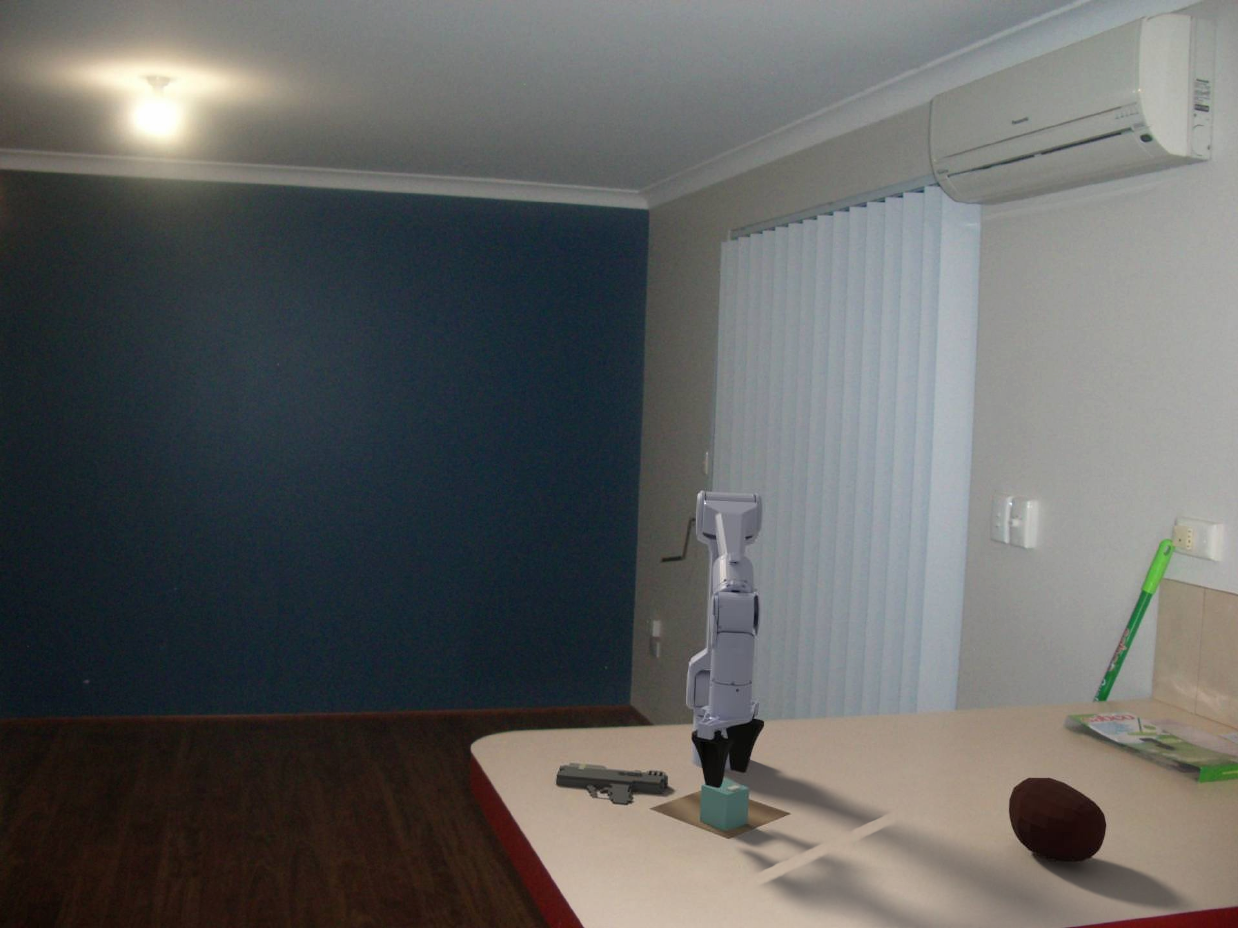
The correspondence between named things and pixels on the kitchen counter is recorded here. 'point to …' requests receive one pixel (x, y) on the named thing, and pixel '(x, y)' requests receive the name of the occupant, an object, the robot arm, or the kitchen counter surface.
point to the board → (690, 813)
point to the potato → (1056, 820)
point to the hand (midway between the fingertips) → (725, 778)
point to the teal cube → (724, 805)
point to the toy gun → (612, 781)
